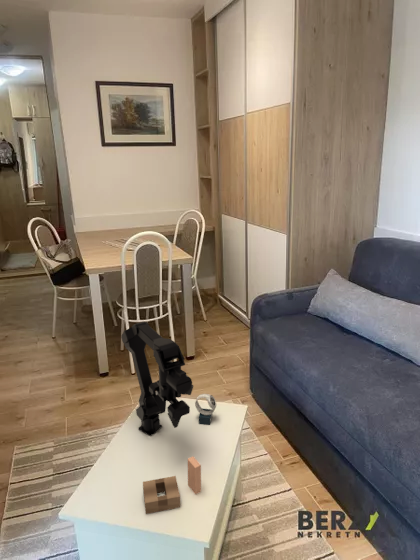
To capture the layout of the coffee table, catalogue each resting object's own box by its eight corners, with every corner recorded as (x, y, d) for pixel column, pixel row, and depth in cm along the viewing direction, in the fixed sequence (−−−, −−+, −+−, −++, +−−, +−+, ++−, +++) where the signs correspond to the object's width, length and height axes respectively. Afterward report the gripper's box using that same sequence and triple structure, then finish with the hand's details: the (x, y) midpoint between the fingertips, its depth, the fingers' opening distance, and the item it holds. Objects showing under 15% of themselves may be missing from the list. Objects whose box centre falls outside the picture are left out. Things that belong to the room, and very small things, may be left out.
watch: (215, 425, 154) (215, 400, 150) (194, 423, 155) (193, 398, 152) (217, 416, 159) (217, 392, 156) (197, 414, 160) (196, 390, 157)
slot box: (143, 492, 124) (142, 481, 123) (175, 486, 126) (175, 475, 125) (145, 514, 117) (145, 503, 116) (180, 507, 119) (180, 496, 118)
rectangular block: (188, 485, 127) (187, 458, 124) (193, 482, 128) (193, 456, 125) (195, 494, 123) (195, 467, 120) (201, 491, 124) (200, 465, 121)
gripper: (204, 385, 128) (204, 426, 133) (176, 360, 144) (177, 398, 148) (172, 396, 123) (173, 439, 128) (147, 368, 138) (149, 408, 143)
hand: (169, 419), depth 137 cm, fingers open, 9 cm apart
